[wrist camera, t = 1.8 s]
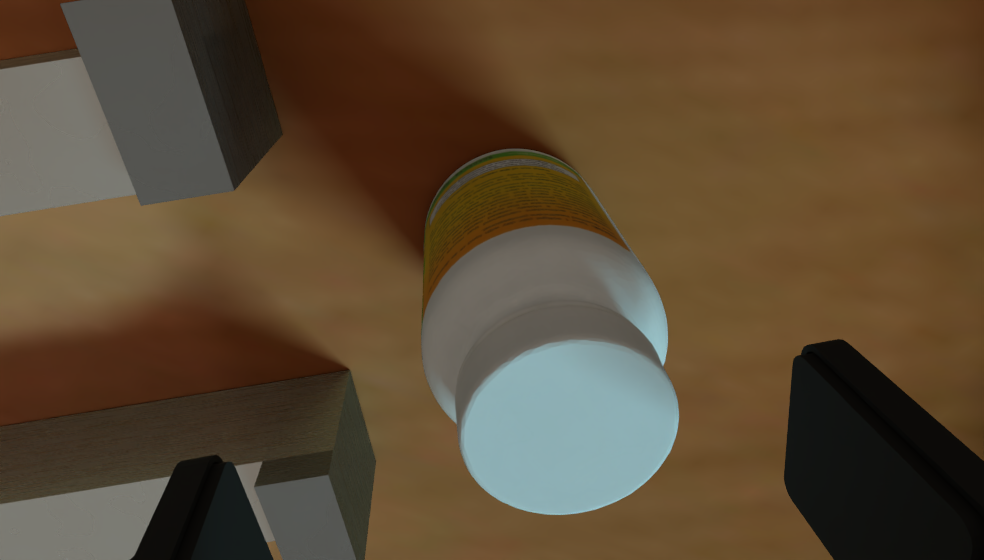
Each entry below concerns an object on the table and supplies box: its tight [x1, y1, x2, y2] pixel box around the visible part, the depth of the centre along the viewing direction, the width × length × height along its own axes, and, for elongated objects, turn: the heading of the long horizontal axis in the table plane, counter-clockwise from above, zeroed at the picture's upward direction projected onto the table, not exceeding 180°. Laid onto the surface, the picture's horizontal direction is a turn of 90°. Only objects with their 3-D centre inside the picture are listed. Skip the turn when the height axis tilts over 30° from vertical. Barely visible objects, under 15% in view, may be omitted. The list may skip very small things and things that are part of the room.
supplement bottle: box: [421, 149, 679, 515], centre depth 16 cm, size 5×5×10 cm
